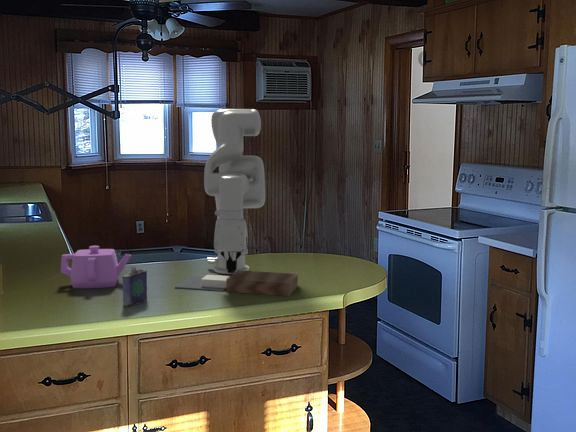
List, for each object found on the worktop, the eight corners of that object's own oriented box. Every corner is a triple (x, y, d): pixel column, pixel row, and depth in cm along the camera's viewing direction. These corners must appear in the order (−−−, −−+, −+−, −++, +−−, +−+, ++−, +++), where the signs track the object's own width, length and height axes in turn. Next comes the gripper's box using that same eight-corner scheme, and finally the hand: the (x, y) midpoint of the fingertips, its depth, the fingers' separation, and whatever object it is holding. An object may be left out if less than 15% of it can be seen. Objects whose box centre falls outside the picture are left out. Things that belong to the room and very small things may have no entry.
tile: (201, 286, 209) (201, 279, 209) (207, 281, 215) (207, 274, 215) (228, 288, 207) (228, 280, 207) (233, 283, 213) (233, 276, 213)
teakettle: (57, 284, 212) (55, 247, 210) (99, 274, 226) (98, 239, 224) (91, 293, 202) (90, 253, 200) (133, 282, 216) (132, 245, 214)
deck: (226, 291, 205) (226, 279, 204) (237, 282, 216) (237, 270, 216) (289, 295, 201) (289, 283, 200) (297, 286, 212) (297, 273, 211)
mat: (175, 288, 209) (175, 286, 209) (191, 277, 222) (191, 276, 222) (223, 291, 205) (223, 290, 205) (236, 280, 219) (236, 279, 219)
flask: (127, 307, 188) (126, 270, 186) (120, 306, 189) (118, 269, 188) (149, 299, 196) (148, 264, 194) (141, 298, 197) (140, 263, 196)
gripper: (204, 215, 205) (205, 273, 208) (251, 217, 202) (251, 276, 205) (212, 212, 212) (212, 268, 215) (257, 214, 209) (257, 270, 212)
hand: (231, 271), depth 210 cm, fingers closed
